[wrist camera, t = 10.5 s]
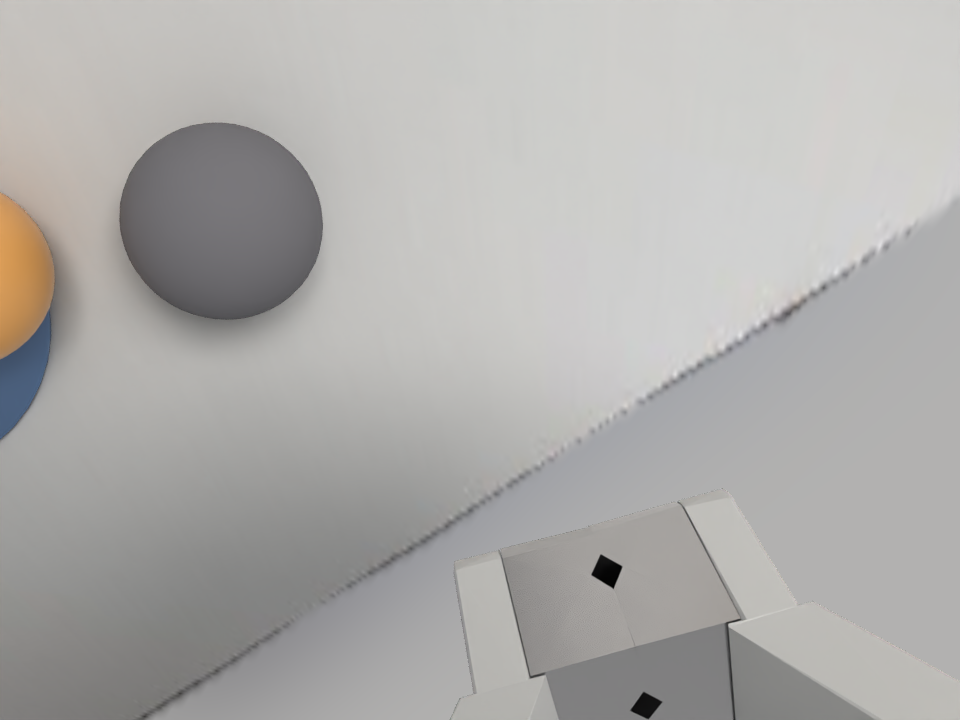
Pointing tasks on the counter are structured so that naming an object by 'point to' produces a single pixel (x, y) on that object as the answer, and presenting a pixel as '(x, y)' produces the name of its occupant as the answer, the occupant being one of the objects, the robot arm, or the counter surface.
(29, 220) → the orange ball
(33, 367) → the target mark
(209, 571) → the counter surface
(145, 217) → the gray ball
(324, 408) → the counter surface
